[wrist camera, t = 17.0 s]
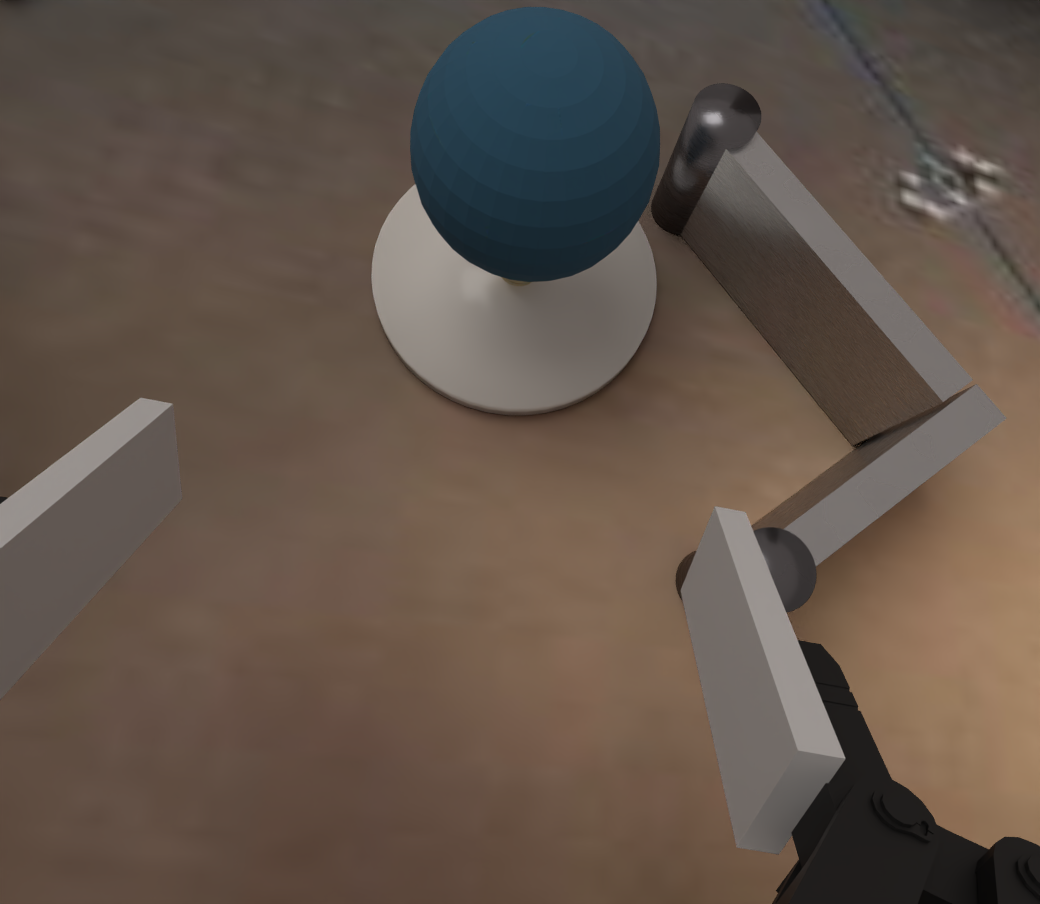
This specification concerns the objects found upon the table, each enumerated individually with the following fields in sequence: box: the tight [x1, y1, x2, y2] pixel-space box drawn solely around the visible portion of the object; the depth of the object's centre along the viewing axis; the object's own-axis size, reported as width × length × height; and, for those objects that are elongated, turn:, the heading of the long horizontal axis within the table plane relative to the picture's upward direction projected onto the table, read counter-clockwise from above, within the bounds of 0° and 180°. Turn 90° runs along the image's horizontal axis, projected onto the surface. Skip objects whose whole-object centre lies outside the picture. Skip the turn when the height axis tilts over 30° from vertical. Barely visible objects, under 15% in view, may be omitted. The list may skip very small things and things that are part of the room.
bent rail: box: [651, 83, 1006, 612], centre depth 27 cm, size 18×13×6 cm
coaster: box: [371, 184, 657, 415], centre depth 30 cm, size 13×13×1 cm
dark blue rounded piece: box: [410, 7, 660, 286], centre depth 24 cm, size 8×8×12 cm
